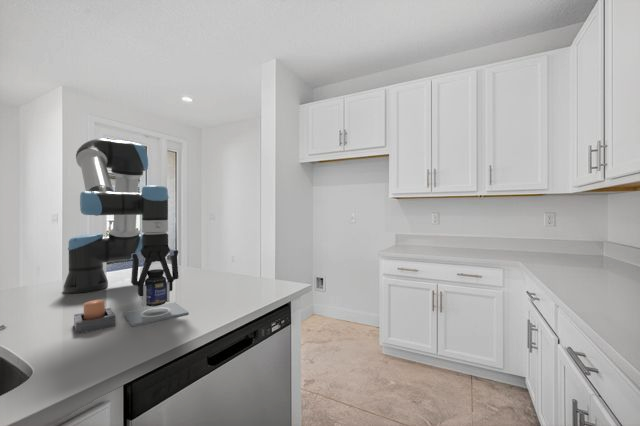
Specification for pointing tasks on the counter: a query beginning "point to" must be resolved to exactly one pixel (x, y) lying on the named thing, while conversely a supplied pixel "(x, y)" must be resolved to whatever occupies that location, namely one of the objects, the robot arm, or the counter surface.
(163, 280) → the pill bottle
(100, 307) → the button
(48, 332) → the counter surface
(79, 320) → the button housing
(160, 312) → the board
